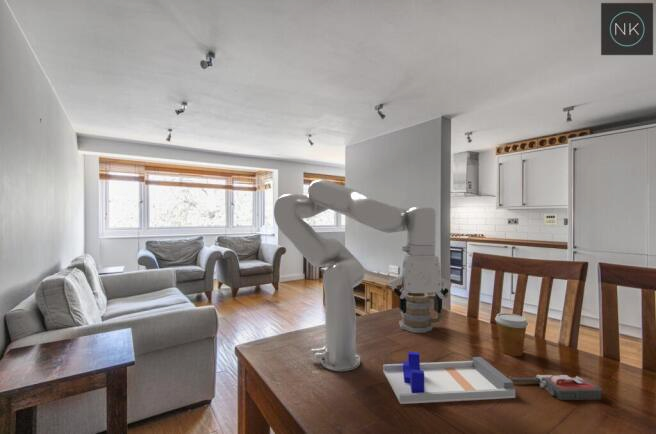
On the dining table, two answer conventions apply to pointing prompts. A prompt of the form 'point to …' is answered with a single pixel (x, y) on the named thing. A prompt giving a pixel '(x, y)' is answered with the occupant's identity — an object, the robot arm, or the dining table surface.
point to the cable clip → (413, 373)
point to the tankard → (419, 313)
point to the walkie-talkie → (566, 386)
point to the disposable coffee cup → (511, 333)
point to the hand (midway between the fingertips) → (420, 311)
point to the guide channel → (452, 382)
